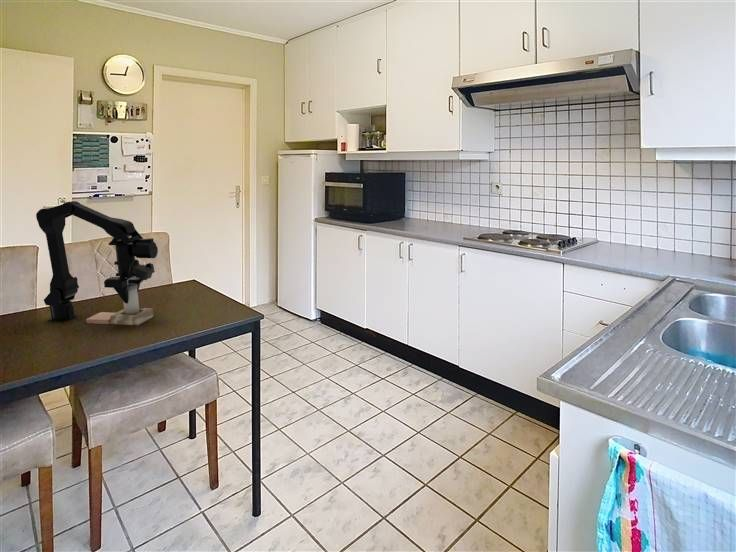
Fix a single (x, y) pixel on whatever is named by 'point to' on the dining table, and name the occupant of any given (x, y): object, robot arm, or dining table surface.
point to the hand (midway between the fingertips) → (130, 301)
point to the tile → (100, 318)
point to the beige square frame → (132, 317)
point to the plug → (132, 300)
